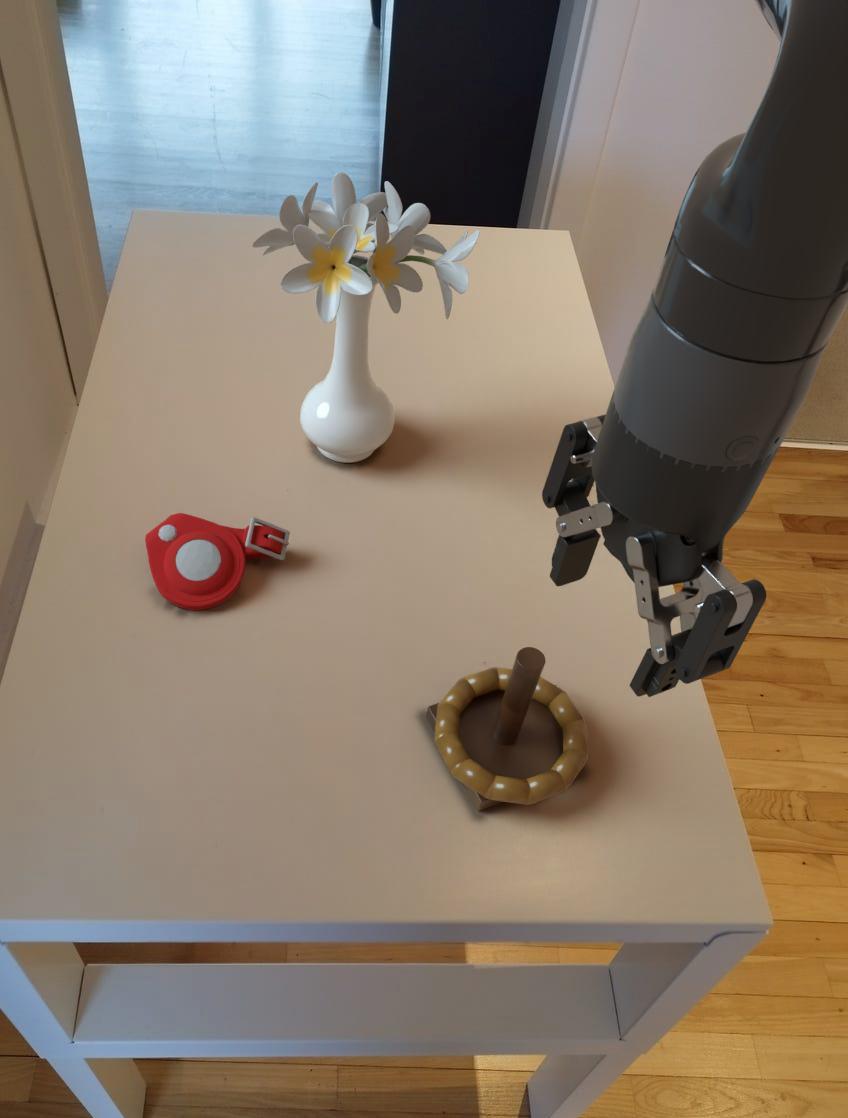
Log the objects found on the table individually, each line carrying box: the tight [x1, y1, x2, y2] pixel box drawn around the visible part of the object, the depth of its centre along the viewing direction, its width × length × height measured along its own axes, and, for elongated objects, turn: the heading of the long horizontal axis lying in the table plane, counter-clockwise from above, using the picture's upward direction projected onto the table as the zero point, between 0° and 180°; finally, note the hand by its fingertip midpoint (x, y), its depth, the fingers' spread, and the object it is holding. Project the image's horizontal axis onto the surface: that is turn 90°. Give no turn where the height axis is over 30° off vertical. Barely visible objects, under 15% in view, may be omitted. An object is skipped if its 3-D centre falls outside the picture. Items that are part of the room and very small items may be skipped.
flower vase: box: [252, 171, 481, 464], centre depth 82 cm, size 13×18×25 cm
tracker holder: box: [144, 512, 291, 611], centre depth 80 cm, size 12×4×10 cm
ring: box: [433, 666, 589, 806], centre depth 69 cm, size 12×12×2 cm
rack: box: [425, 646, 563, 812], centre depth 67 cm, size 9×9×12 cm
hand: (605, 630), depth 52 cm, fingers open, 8 cm apart
